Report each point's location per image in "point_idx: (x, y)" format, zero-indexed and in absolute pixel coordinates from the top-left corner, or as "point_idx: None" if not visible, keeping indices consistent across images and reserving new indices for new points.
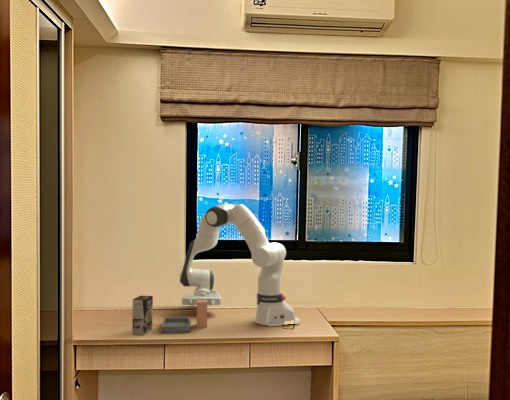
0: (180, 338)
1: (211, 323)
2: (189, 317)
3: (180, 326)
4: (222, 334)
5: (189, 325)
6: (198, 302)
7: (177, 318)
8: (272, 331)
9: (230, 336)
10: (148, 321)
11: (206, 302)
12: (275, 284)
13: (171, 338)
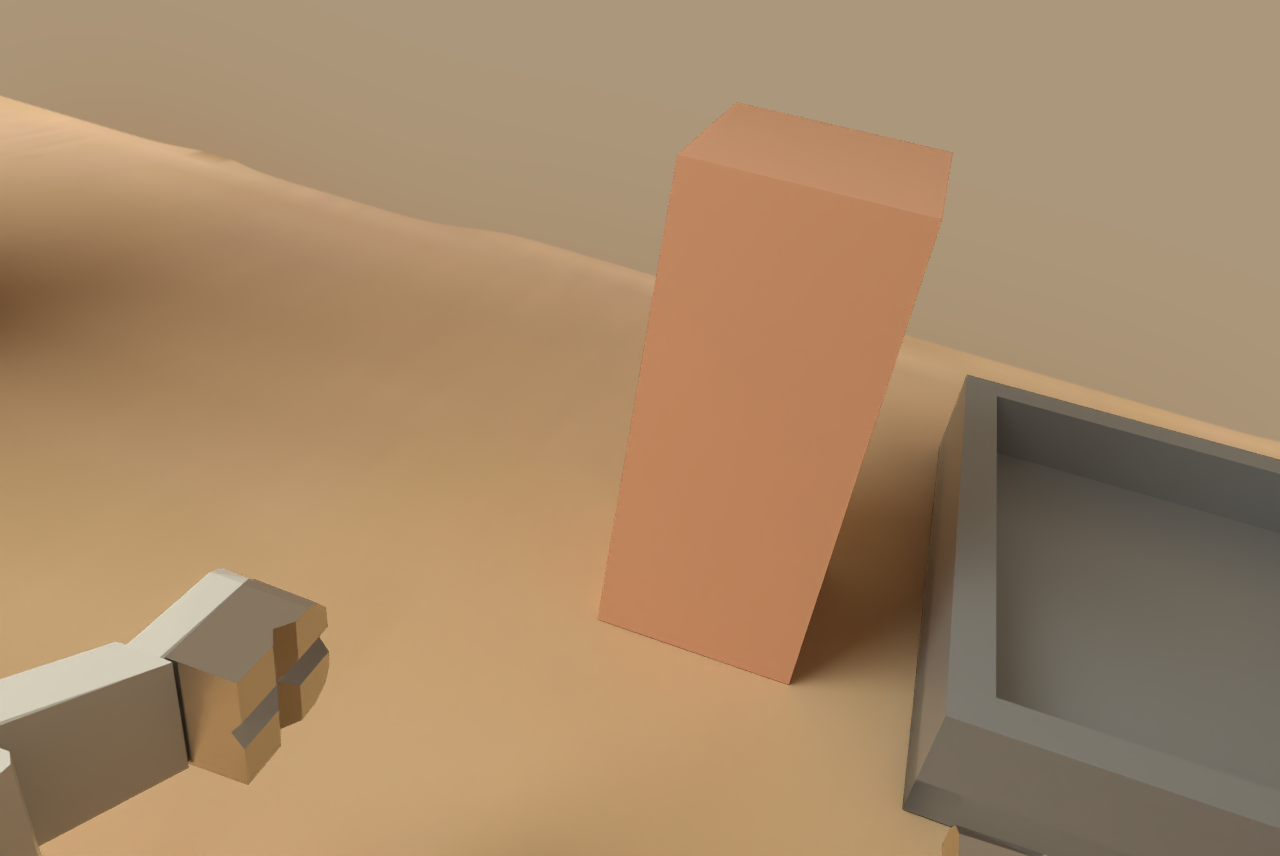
0: (1039, 376)
1: (494, 631)
2: (975, 696)
3: (1094, 410)
4: (580, 303)
5: (970, 391)
6: (916, 145)
7: (1261, 801)
8: (39, 191)
9: (533, 256)
10: None
11: (752, 110)
12: None
13: (1138, 405)
